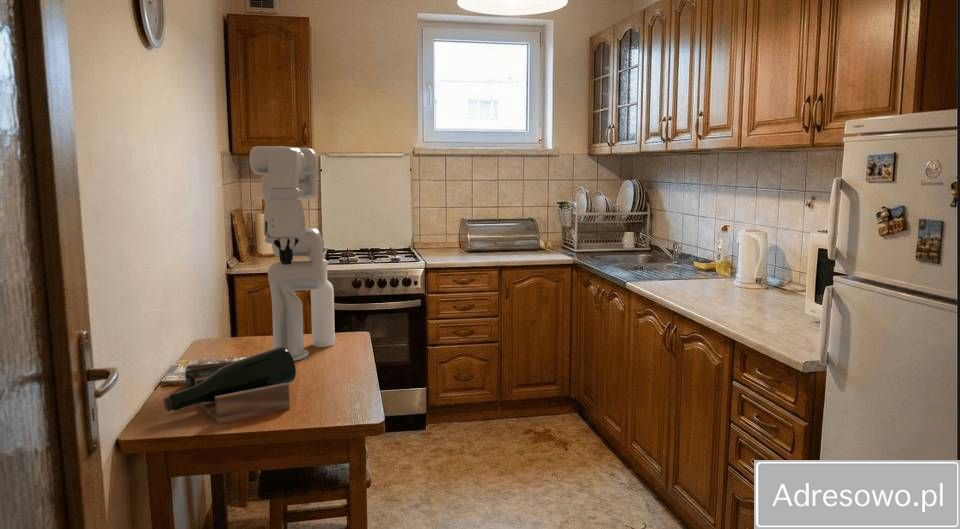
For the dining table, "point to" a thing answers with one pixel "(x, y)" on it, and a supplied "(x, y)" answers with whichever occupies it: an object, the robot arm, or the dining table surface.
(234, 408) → the cradle
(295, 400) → the dining table surface
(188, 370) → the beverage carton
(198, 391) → the beer bottle
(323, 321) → the bottle
